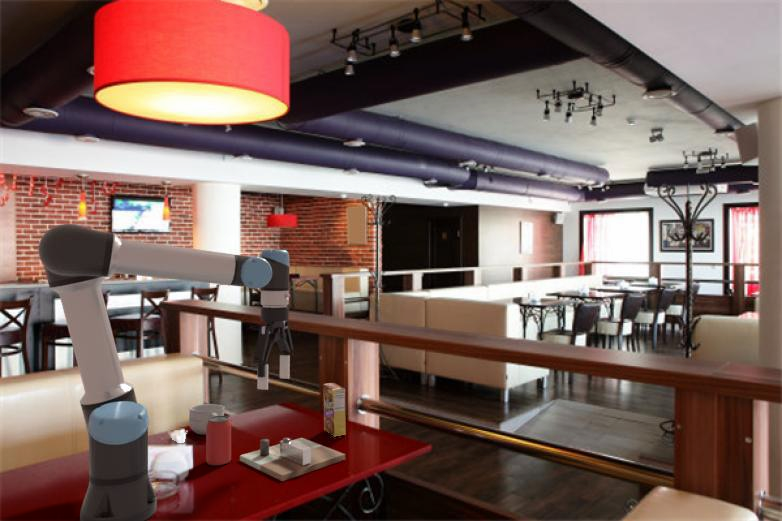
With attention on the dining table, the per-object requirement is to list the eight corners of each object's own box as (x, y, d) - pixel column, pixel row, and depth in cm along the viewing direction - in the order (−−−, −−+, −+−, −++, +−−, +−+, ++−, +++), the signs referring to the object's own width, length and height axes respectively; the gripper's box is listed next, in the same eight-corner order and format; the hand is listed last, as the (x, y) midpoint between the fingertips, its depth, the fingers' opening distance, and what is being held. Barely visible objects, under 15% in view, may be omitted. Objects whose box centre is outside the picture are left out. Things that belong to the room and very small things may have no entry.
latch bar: (279, 456, 155) (279, 438, 155) (287, 453, 157) (287, 436, 157) (303, 466, 148) (302, 448, 148) (310, 463, 150) (310, 445, 150)
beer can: (223, 467, 151) (223, 422, 151) (201, 465, 153) (201, 421, 153) (235, 458, 158) (235, 415, 158) (213, 456, 159) (213, 414, 159)
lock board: (282, 481, 142) (282, 459, 142) (240, 460, 156) (240, 440, 156) (345, 459, 157) (345, 439, 157) (301, 442, 171) (301, 424, 171)
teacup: (187, 429, 184) (187, 404, 184) (222, 425, 189) (222, 401, 188) (192, 442, 171) (191, 416, 171) (228, 437, 176) (228, 411, 176)
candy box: (322, 430, 183) (322, 383, 183) (335, 428, 185) (335, 382, 185) (333, 438, 175) (333, 389, 175) (346, 436, 177) (346, 388, 177)
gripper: (266, 310, 142) (266, 395, 142) (305, 302, 166) (304, 375, 166) (239, 309, 143) (238, 393, 144) (281, 302, 168) (280, 373, 168)
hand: (274, 383), depth 155 cm, fingers open, 13 cm apart
